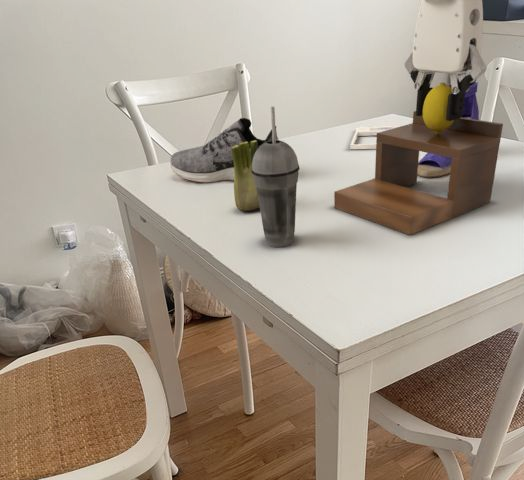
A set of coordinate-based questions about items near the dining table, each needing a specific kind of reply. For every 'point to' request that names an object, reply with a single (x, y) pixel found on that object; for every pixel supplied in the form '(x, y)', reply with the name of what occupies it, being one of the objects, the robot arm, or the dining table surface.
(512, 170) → the dining table surface
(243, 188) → the fennel bulb
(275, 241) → the beverage cup
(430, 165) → the sandal
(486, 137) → the stand
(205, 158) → the athletic shoe
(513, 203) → the dining table surface
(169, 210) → the dining table surface
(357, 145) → the photo frame
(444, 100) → the lemon
